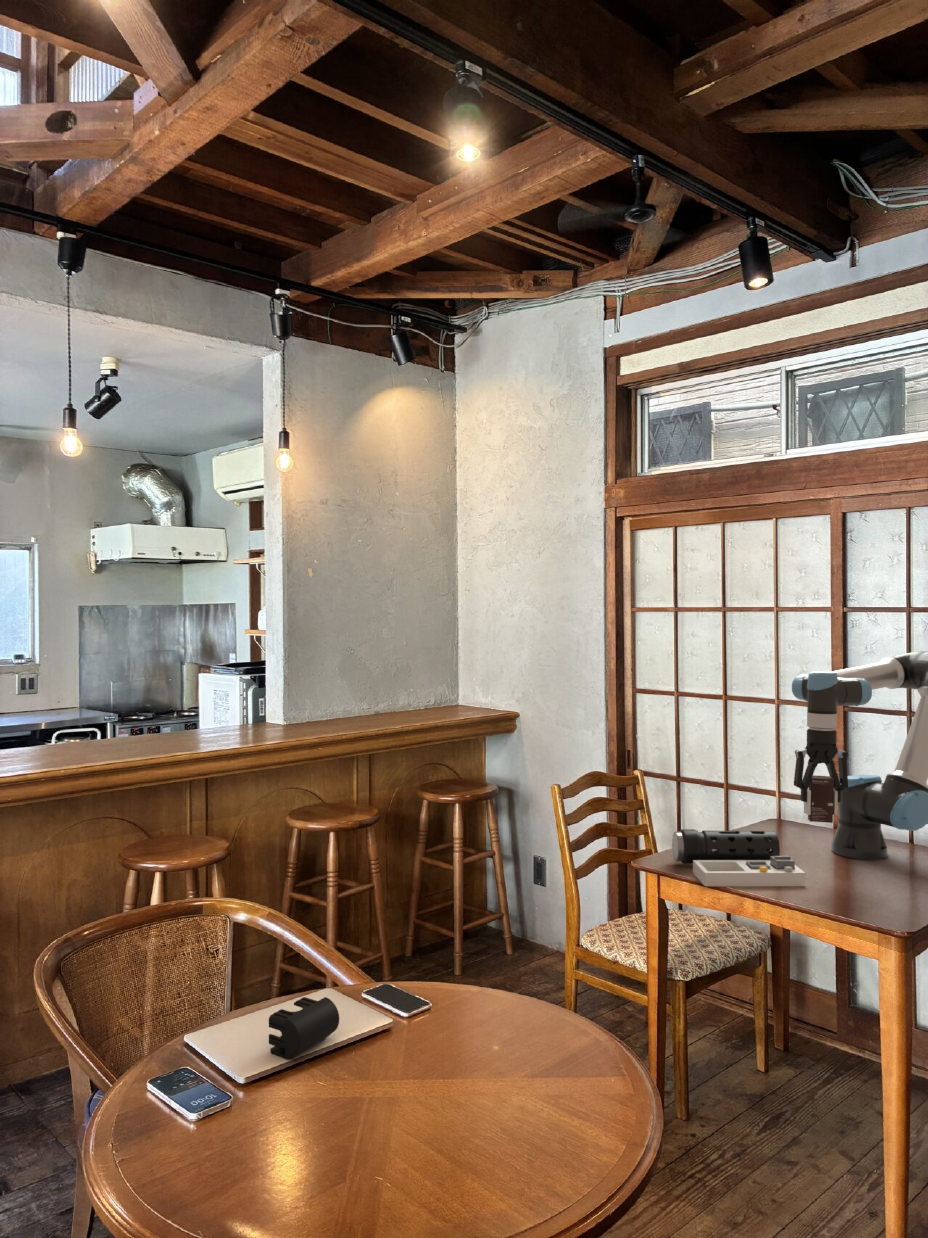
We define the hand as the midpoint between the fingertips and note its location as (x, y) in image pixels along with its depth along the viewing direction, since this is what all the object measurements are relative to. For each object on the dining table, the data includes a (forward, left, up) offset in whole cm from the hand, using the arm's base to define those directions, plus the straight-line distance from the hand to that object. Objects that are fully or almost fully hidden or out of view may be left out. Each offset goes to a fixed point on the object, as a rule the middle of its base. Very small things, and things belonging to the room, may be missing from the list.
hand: (820, 813), depth 242 cm
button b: (+17, +1, -17) cm, 24 cm away
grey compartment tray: (+20, +1, -17) cm, 27 cm away
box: (0, 0, -2) cm, 2 cm away
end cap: (+123, +93, -18) cm, 156 cm away
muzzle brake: (+23, -11, -18) cm, 31 cm away
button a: (+11, +1, -15) cm, 19 cm away
